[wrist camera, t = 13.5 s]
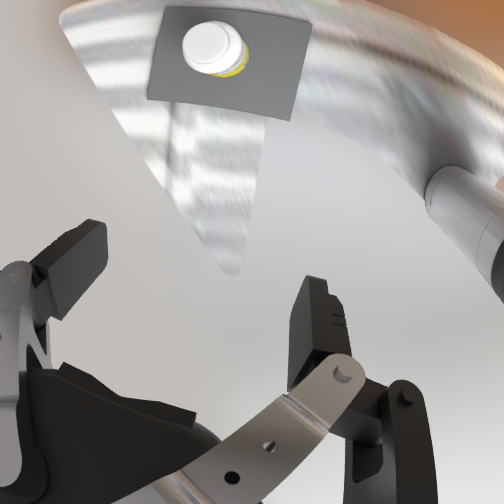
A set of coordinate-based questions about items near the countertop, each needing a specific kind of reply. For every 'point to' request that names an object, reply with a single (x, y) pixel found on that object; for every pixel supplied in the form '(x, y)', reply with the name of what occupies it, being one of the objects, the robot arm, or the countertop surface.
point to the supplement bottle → (215, 49)
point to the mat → (246, 82)
